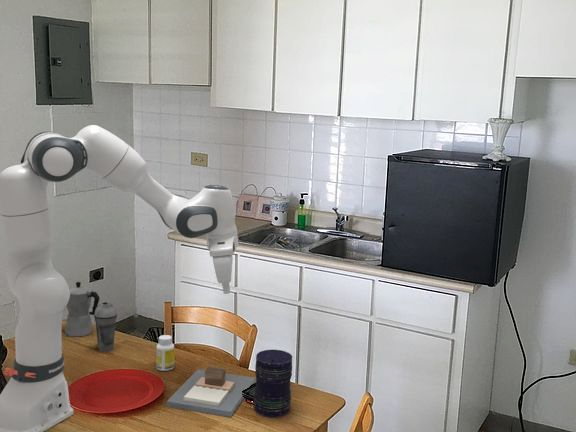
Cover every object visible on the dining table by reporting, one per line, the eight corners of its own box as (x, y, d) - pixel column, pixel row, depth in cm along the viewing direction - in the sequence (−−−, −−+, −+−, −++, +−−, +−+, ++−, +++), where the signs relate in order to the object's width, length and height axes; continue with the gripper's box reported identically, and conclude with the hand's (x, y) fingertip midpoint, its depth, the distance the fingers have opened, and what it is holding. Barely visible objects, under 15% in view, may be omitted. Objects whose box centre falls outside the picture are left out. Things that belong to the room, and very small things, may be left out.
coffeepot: (54, 332, 220) (53, 282, 217) (73, 324, 229) (73, 275, 226) (89, 341, 214) (89, 289, 211) (108, 332, 223) (108, 282, 220)
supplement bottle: (176, 364, 199) (176, 334, 197) (171, 372, 193) (171, 341, 192) (159, 363, 199) (159, 333, 197) (153, 370, 194) (154, 339, 192)
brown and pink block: (228, 392, 178) (229, 375, 177) (195, 387, 180) (195, 370, 179) (234, 385, 183) (235, 368, 182) (201, 380, 185) (202, 364, 184)
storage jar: (256, 398, 179) (258, 347, 176) (292, 402, 178) (294, 351, 175) (250, 415, 169) (252, 362, 166) (288, 419, 168) (290, 365, 165)
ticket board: (230, 417, 168) (230, 407, 167) (166, 406, 172) (166, 397, 171) (255, 382, 189) (255, 374, 188) (197, 374, 193) (197, 365, 192)
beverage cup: (93, 345, 211) (93, 286, 207) (116, 344, 213) (116, 285, 209) (94, 354, 204) (93, 293, 200) (118, 352, 206) (117, 292, 203)
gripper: (213, 232, 192) (218, 275, 195) (209, 252, 172) (214, 301, 175) (234, 230, 192) (238, 273, 196) (232, 250, 172) (237, 298, 176)
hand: (227, 286), depth 185 cm, fingers open, 8 cm apart
